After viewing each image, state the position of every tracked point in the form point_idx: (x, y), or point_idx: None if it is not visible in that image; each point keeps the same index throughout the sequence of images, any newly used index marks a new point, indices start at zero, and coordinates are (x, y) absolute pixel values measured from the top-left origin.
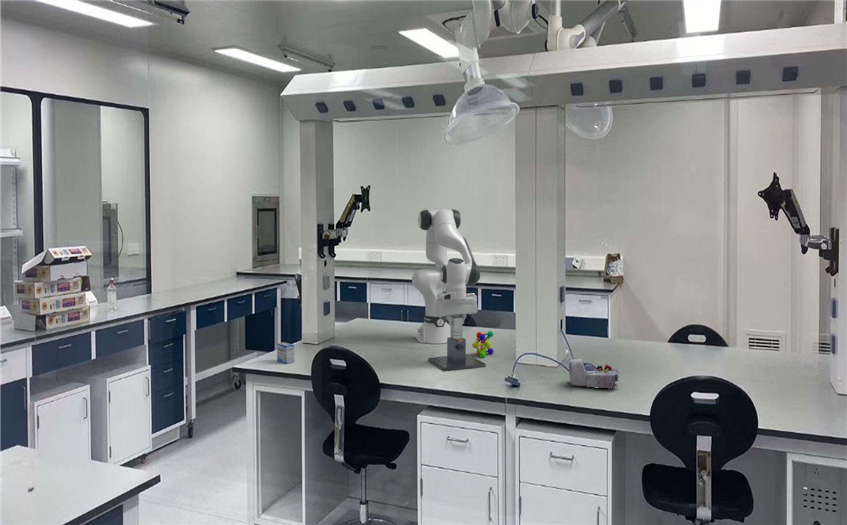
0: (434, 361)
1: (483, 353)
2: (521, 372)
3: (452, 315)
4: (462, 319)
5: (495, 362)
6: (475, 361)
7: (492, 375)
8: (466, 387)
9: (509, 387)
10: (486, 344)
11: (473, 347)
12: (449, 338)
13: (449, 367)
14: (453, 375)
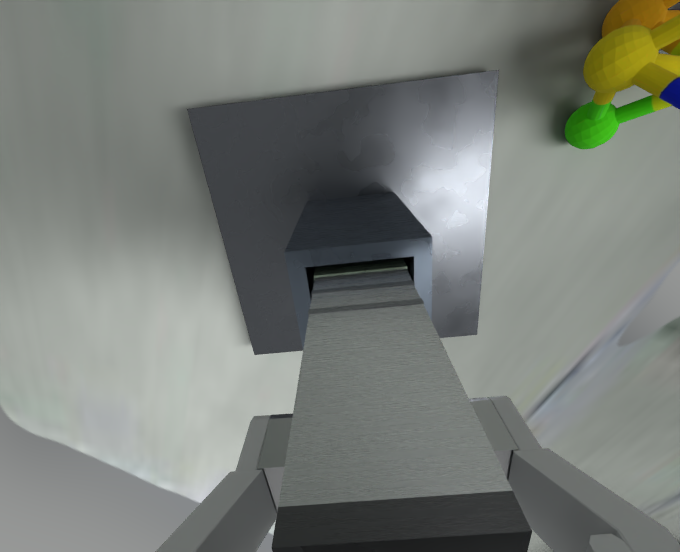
0: (219, 220)
1: (596, 143)
2: (556, 425)
3: (330, 542)
4: (517, 497)
5: (569, 259)
6: (450, 282)
7: None
8: None
9: None
10: None
11: (585, 64)
12: (295, 300)
13: (277, 350)
14: (279, 401)
